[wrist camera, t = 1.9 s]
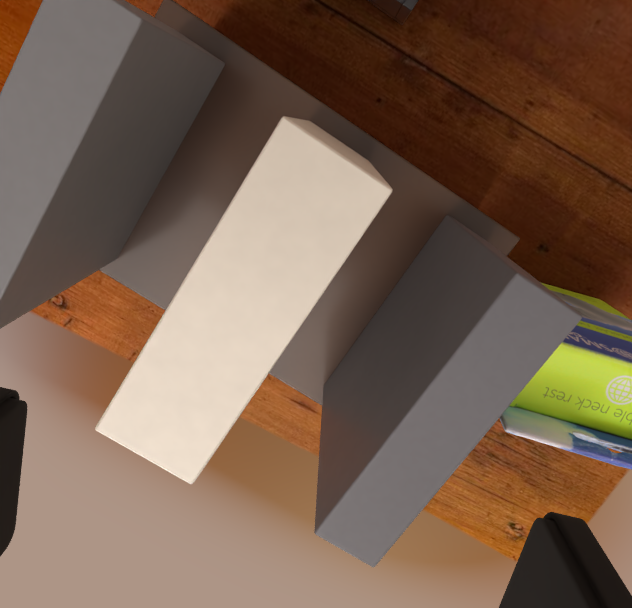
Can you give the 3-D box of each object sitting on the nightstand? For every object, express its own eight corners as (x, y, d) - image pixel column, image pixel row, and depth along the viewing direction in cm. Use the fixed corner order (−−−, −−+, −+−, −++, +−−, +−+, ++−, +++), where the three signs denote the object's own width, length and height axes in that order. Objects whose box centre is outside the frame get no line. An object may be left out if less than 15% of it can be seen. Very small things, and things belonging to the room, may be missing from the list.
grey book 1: (72, 233, 30) (-96, 300, 18) (178, 31, 27) (59, -39, 15) (116, 259, 30) (-22, 342, 19) (225, 64, 27) (143, 18, 16)
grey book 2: (322, 386, 32) (313, 534, 20) (446, 213, 29) (517, 271, 17) (361, 410, 32) (374, 569, 21) (488, 241, 29) (584, 317, 18)
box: (601, 295, 40) (786, 416, 23) (576, 350, 41) (736, 502, 25) (451, 252, 39) (532, 344, 23) (431, 309, 41) (494, 436, 24)
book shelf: (114, 209, 39) (41, 235, 30) (211, 29, 36) (165, -6, 27) (363, 365, 42) (370, 435, 32) (476, 210, 39) (521, 238, 29)
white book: (193, 306, 31) (93, 430, 18) (308, 119, 28) (283, 115, 15) (250, 342, 31) (192, 486, 19) (370, 161, 28) (394, 189, 16)
